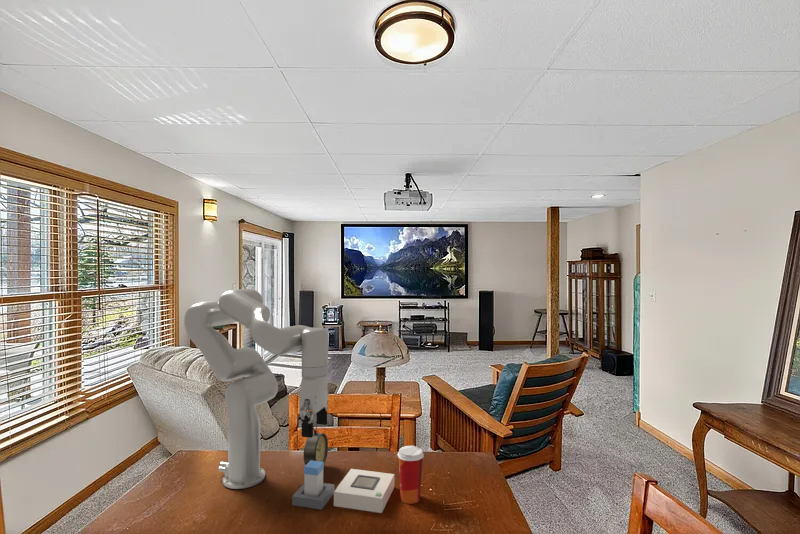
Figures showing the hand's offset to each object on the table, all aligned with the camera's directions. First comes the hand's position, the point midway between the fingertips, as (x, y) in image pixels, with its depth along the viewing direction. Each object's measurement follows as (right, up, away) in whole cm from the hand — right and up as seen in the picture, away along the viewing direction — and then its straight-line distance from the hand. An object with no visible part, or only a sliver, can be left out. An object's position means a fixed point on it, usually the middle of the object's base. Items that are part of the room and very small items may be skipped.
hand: (314, 430), depth 122 cm
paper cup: (+28, -20, +1) cm, 34 cm away
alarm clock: (-3, -20, +17) cm, 27 cm away
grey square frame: (0, -20, 0) cm, 20 cm away
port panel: (+14, -20, +2) cm, 25 cm away
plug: (0, -20, 0) cm, 20 cm away
